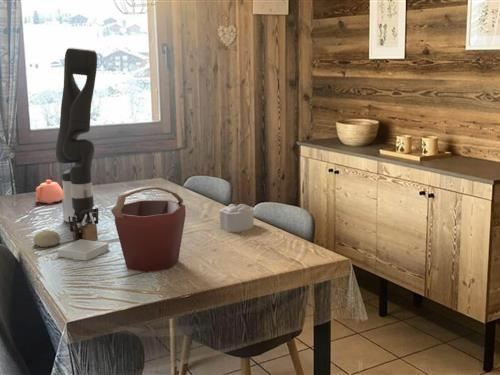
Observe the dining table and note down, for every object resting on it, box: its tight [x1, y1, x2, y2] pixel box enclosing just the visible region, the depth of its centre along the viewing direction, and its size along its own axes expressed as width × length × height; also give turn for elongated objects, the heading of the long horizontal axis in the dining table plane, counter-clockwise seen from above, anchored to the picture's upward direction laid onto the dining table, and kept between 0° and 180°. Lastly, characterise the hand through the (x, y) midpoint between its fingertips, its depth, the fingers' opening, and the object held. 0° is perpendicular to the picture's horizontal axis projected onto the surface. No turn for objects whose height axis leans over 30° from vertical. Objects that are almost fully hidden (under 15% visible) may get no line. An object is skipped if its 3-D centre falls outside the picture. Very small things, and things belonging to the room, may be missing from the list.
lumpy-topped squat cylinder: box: [219, 203, 255, 233], centre depth 236 cm, size 10×13×9 cm
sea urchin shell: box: [32, 229, 61, 248], centre depth 219 cm, size 9×8×8 cm
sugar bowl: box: [35, 179, 64, 205], centre depth 281 cm, size 12×14×10 cm
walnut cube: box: [72, 223, 98, 242], centre depth 221 cm, size 6×6×6 cm
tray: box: [56, 239, 110, 261], centre depth 208 cm, size 12×12×3 cm
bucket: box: [110, 186, 187, 273], centre depth 195 cm, size 24×22×25 cm
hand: (85, 239), depth 221 cm, fingers open, 6 cm apart
